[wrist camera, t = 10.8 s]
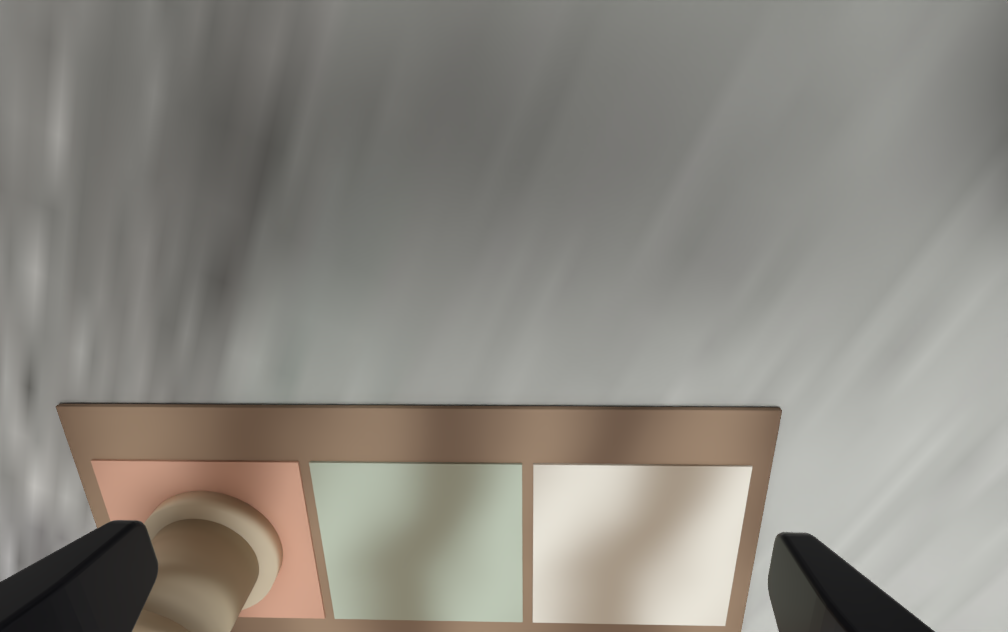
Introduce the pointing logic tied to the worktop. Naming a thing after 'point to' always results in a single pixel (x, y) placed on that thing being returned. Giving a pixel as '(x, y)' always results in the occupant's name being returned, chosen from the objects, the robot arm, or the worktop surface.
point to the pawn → (208, 562)
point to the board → (461, 508)
